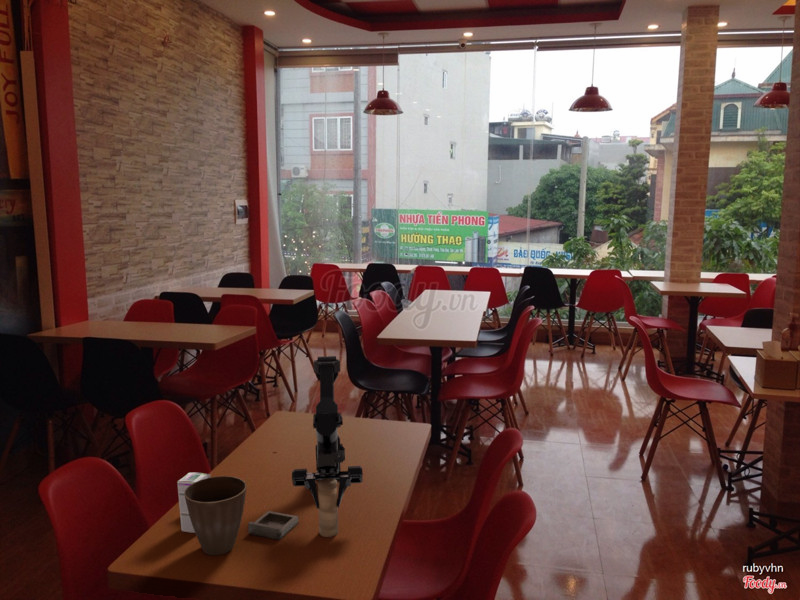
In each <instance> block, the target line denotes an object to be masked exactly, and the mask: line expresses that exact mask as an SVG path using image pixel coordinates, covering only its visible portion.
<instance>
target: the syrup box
mask: <svg viewBox="0 0 800 600" xmlns="http://www.w3.org/2000/svg"><path fill="white" fill-rule="evenodd" d="M207 475H208V473H203V472H188V473H187V474H185V475H184V476H183V477H182V478H180V479H179V480H177V493H178V504H179V514H180V515H179V517H180V527H181V528H180V529H181V532H186V533H194V534H195V531H194V528H193V526H192V523H191V519H190V516H189V512H188V508H187V504H186V499H185V495H184V492H185V490H186V488H187V487H188V486H190V485H191V484H193V483H195V482H197V481H199V480H202V479H206V478H207Z"/></svg>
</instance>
